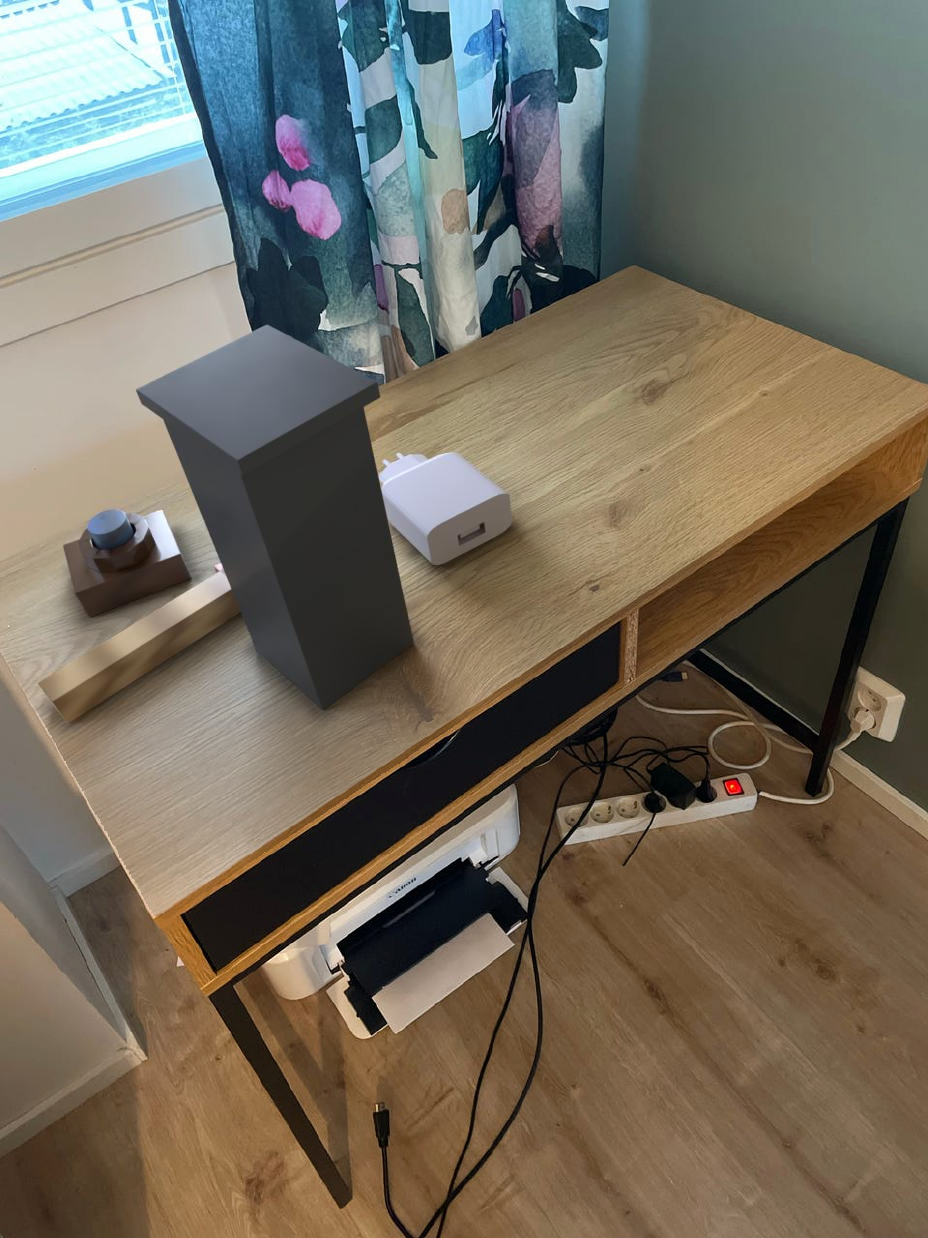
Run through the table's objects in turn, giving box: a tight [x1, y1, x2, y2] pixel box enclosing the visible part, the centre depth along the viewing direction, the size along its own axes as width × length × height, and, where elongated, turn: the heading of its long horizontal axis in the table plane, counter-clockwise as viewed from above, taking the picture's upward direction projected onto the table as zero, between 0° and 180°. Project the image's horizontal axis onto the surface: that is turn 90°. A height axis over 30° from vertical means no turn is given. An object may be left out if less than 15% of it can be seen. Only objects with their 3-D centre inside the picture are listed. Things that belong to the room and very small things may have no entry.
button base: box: [62, 509, 192, 618], centre depth 86 cm, size 10×8×5 cm
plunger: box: [86, 508, 134, 550], centre depth 84 cm, size 4×4×2 cm
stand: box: [135, 324, 415, 711], centre depth 69 cm, size 11×13×26 cm
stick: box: [37, 561, 241, 724], centre depth 80 cm, size 22×5×3 cm, turn 133°
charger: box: [378, 451, 513, 566], centre depth 88 cm, size 5×9×15 cm
